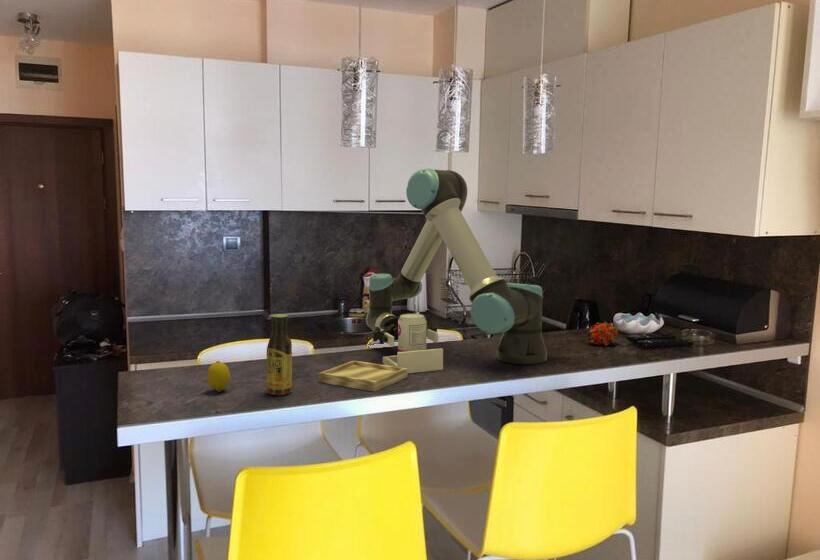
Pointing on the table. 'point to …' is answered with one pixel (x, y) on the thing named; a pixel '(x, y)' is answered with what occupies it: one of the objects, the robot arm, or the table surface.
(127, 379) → the table surface
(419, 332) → the supplement can
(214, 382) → the lemon
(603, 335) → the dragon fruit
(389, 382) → the tray
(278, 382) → the sauce bottle
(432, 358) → the dock
